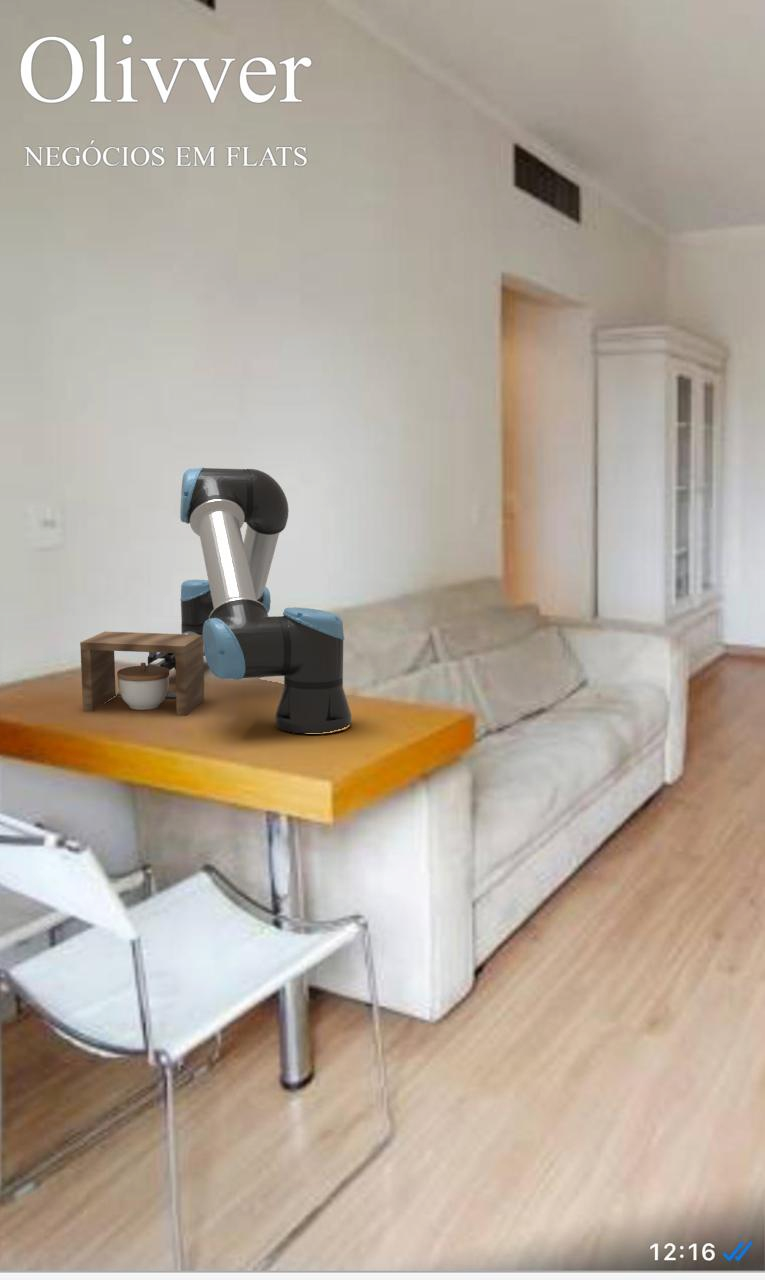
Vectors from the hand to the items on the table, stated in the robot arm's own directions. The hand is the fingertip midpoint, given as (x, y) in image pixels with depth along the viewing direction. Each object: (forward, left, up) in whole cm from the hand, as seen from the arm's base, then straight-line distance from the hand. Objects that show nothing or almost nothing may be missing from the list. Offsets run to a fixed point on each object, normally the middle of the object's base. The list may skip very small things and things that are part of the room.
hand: (152, 670), depth 209 cm
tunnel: (0, +6, -6) cm, 8 cm away
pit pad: (0, -3, -6) cm, 7 cm away
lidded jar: (0, +6, -7) cm, 9 cm away
